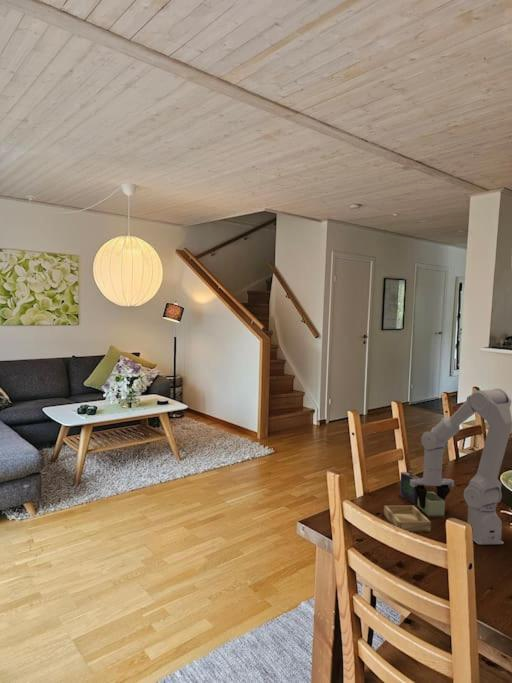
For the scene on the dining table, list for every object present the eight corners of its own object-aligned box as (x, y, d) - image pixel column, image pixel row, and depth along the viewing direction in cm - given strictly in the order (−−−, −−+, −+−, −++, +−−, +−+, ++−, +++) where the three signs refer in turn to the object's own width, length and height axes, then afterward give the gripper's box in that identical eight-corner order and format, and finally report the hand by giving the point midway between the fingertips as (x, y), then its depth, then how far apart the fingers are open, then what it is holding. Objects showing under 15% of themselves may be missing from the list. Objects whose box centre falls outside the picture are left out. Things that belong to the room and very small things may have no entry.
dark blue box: (397, 495, 164) (399, 466, 164) (404, 494, 165) (405, 465, 165) (416, 506, 156) (418, 475, 155) (423, 504, 157) (424, 474, 156)
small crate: (444, 516, 148) (445, 501, 148) (428, 516, 148) (429, 501, 147) (432, 505, 156) (433, 491, 156) (417, 506, 156) (418, 491, 155)
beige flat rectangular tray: (430, 531, 137) (431, 522, 137) (398, 532, 136) (399, 522, 136) (413, 514, 149) (413, 505, 149) (383, 514, 148) (384, 505, 148)
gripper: (447, 463, 156) (445, 501, 157) (406, 463, 154) (404, 502, 155) (458, 470, 149) (456, 510, 150) (416, 470, 147) (413, 511, 148)
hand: (430, 507), depth 152 cm, fingers closed on small crate, 5 cm apart
